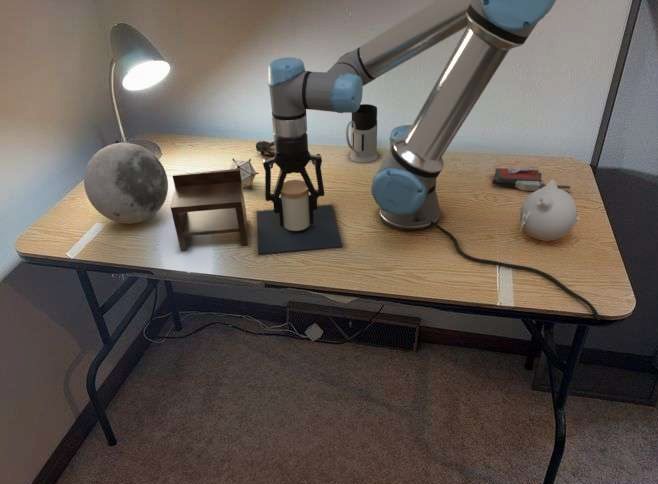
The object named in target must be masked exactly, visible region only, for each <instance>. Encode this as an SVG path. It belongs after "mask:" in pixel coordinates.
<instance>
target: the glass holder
mask: <svg viewBox="0 0 658 484" xmlns="http://www.w3.org/2000/svg"><path fill="white" fill-rule="evenodd" d="M346 124H347V125H346V128H345V138H346V139H345V140H346V143H347V146H348V147H349V149H350V154H349V159H350V160H351V161H353V162H355V163H363V164H364V163H371V162H374V161H376V160H377V159H378V157H379V155H378V152H377V151H378V145H377V144H378V107H377V106H376V105H374V104H369V103H362V104H361V103H360V107H359V109H358V110H357V111H356V112H354V113H351V120H349V121H348V123H346ZM349 129H350V137H349Z"/></svg>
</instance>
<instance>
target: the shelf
mask: <svg viewBox="0 0 658 484" xmlns="http://www.w3.org/2000/svg"><path fill="white" fill-rule="evenodd" d="M172 180H173V184H174V185H173V186H174V190H173V195H172V199H171V203H170V212H171V215H172V221H173V224H174V229H175V232H176V237H177V241H178V246H179V250H180V252H181V253H183V252H187V251H188V249H189V248H188V247H189V240H190V237H198V236H210V235H219V234H231V233H232V234H233V233H239V239H240V245H241V247H246V246H247V247H248V243H249V242H248V241H249V240H248V236H249V234H248V228H249V227H248V226H249V225H248V216H247V209H246V202H245V194H244V187H243V186H242V179H241V172H240V169H230V168H229V169H219V170H207V171H195V172H194V171H193V172H183V173H172Z"/></svg>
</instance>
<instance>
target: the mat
mask: <svg viewBox="0 0 658 484" xmlns="http://www.w3.org/2000/svg"><path fill="white" fill-rule="evenodd" d="M313 219H314V224H311V223H310V225H309V227H307V228H306V229H304V230H300V231H292V230H288V229H286V228H285V227H284V226H280V218H279V213H275V212H274V209H268V210H267V209H266V210H258V211H256V228H257V229H256V231H257V254H258V256H263V255H264V256H265V255H273V254H285V253H296V252H297V253H298V252H306V251H316V250H317V251H318V250H327V249H328V250H329V249H339V248H343V244H342V238H341V234H340V231H339V227H338V223H337V220H336V216H335V212H334V207H333V204H323V205H317V210H313Z"/></svg>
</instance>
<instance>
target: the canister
mask: <svg viewBox="0 0 658 484" xmlns="http://www.w3.org/2000/svg"><path fill="white" fill-rule="evenodd" d="M309 195H310V192H309V188H307V186H306V183H305V181H304V180H301V179H291V180H287V181H286V180H285V181H284V183H283V187H282V190H281V193H280V197H281V205H282V216H283V226H284V227H285V228H286V229H288V230H292V231H300V230H304V229H306V228H307V227H309V225H310V207H309Z"/></svg>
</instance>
